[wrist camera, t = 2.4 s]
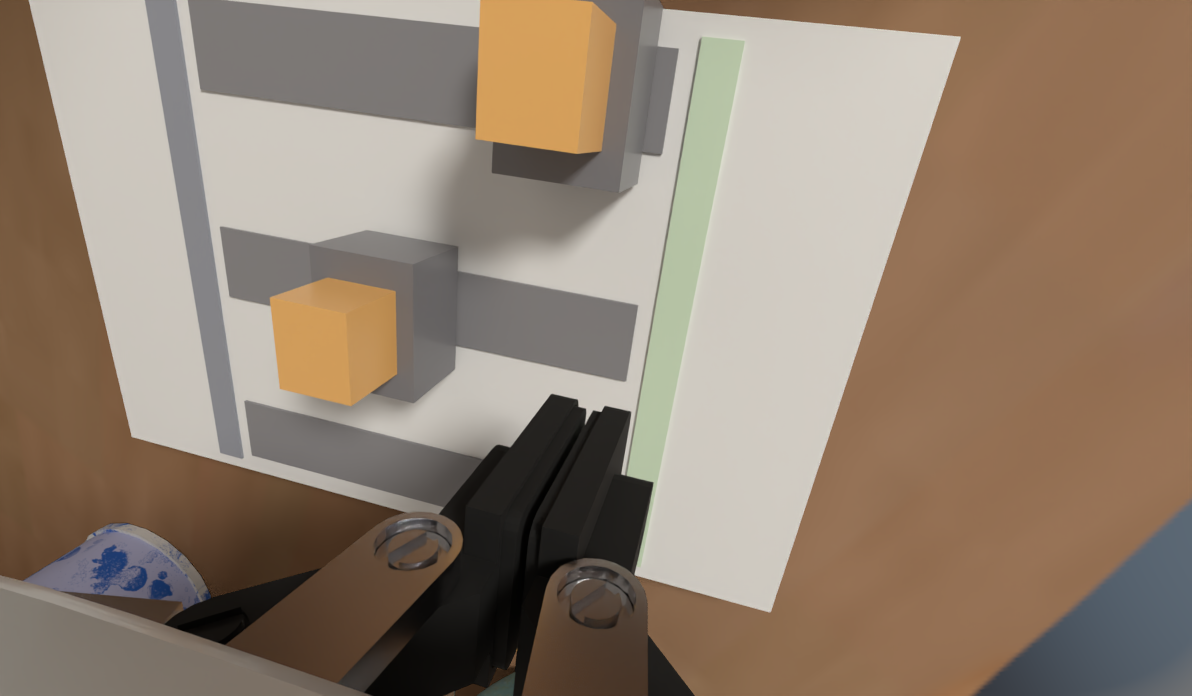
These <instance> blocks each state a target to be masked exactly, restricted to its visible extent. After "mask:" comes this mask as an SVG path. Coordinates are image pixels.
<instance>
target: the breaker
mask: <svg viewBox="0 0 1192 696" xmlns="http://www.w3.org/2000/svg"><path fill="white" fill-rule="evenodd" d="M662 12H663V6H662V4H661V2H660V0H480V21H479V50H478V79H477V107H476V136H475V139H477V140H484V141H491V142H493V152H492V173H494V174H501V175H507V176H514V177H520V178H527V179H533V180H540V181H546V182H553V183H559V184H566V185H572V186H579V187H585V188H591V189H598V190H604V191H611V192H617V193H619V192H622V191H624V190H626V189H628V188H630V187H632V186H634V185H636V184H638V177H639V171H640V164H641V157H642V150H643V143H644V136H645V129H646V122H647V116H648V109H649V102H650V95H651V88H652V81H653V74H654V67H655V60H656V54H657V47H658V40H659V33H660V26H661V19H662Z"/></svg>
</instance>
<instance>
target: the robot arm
mask: <svg viewBox="0 0 1192 696" xmlns="http://www.w3.org/2000/svg"><path fill="white" fill-rule="evenodd" d="M578 406H579V405H578V399H573V398H569V397H564V396H560V395H555V394H551V395H550V396H549V397H548V399H547V400H546V401H545V403H544V404H543V405H542V407H541V408H540V409H539V410H538V412H537V413H536V414H535V416H534V417H533V418H532V420H531V421H530V422H529V424H528V425H527V426H526V427H525V429H524V430H523V431H522V433H521V434H520V435H519V437H518V438H517V439H516V441H515V442H514V443H513V445H512V446H511V447H508V446H504V445H496V446H495V447H494V448H492V450H491V451H490V452H489V453H488V454H487V456H486V457H485V458H484V459H483V461H482V462H481V463H480V464H479V465H478V467H477V468H476V469H475V470H474V472H473V473H472V474H471V475H470V476H469V478H468V479H467V480H466V481H465V482H464V484H463V485H462V486H461V487H460V489H459V490H458V491H457V492H456V493H455V495H454V496H453V497H452V498H451V500H450V501H449V502H448V503H447V504H446V506H445V507H444V508H443V509H442V510H441V512H440V513H439V514H435V513H432V512H409V513H403V514H399V515H396V516H393V517H390V518H388V519H386V520H384V521H383V522H381V523H379V524H378V525H376V526H375V527H373V528H372V529H371V530H370V531H368V532H367V533H366V534H365V535H363V536H362V537H361V538H359V539H358V540H357V541H356V542H354V543H353V544H352V545H351V546H349V547H348V548H347V549H346V550H344V551H343V552H342V553H341V554H339V555H338V556H337V557H336V558H334V559H333V560H332V561H331V562H329V563H328V564H327V565H326V566H324V567H323V568H320V569H317V570H313V571H309V572H305V573H302V574H298V575H294V576H291V577H287V578H283V579H279V580H276V581H272V582H268V583H265V584H261V585H257V586H254V587H250V588H246V589H242V590H239V591H235V592H231V593H228V594H224V595H220V596H217V597H213V598H210V599H207V600H205V601H202V602H199V603H196V604H194V605H192V606H190V607H188V608H187V609H185V610H184V609H183V604H182V602H179V601H168V600H156V599H145V598H134V597H122V596H111V595H99V594H88V593H77V592H65V591H57V590H54V589H51V588H47V587H44V586H40V585H36V584H32V583H28V582H24V581H20V580H16V579H12V578H8V577H4V576H0V696H455V691H456V690H459V689H461V688H463V687H466V686H468V685H470V684H476V685H479V686H482V687H485V688H488V686H489V684H490V682H491V680H492V677H493V675H494V673H495V671H496V669H497V667H498V668H501V669H504V670H507V669H508V667H509V665H510V663H511V661H512V659H513V657H514V654H515V652H516V650H517V656H516V666H515V681H514V690H513V696H694V694H693V693H692V692H691V690H690V689H689V688H688V686H687V685H686V684H685V682H684V681H683V680H682V679H681V677H680V676H679V675H678V673H677V672H676V671H675V669H674V668H673V667H672V665H671V664H670V663H669V662H668V660H667V659H666V658H665V656H664V655H663V654H662V652H661V651H660V650H659V648H658V647H657V646H656V645H655V643H654V642H653V641H652V639H651V638H650V637H649V635H648V603H647V598H646V593H645V590H644V588H643V587H642V585H641V583H640V582H639V580H638V579H637V578H636V577H635V576H634V574H635V570H636V566H637V562H638V557H639V553H640V549H641V544H642V540H643V535H644V530H645V525H646V521H647V516H648V511H649V505H650V500H651V495H652V490H653V484H654V482H650V481H646V480H642V479H638V478H634V477H630V476H626V475H622V474H621V473H622V467H623V461H624V455H625V450H626V444H627V438H628V432H629V426H630V420H631V411H627V410H622V409H618V408H613V407H609V406H604V408H603V410H602V412H599V411H595V410H593V411H592V413H591V415H590V417H589V418H588V420H587V422H586V424H585V420H586V408H582V407H578Z"/></svg>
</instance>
